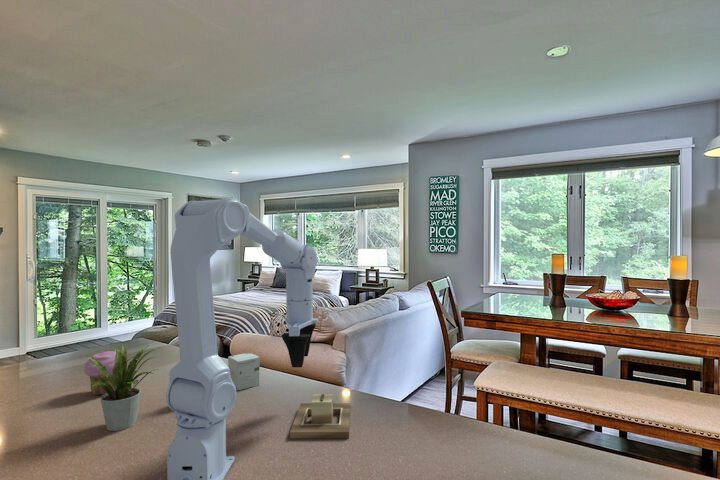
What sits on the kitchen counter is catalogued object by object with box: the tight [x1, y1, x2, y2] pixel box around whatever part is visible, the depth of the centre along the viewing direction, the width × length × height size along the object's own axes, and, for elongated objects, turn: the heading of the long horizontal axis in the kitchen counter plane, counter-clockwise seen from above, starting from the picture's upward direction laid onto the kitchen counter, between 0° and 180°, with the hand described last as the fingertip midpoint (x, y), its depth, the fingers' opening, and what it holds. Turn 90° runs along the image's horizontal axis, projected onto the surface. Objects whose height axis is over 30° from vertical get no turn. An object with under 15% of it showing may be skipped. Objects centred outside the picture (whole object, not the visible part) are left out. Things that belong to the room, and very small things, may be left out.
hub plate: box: [289, 402, 352, 439], centre depth 81 cm, size 13×11×1 cm
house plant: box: [84, 342, 163, 432], centre depth 81 cm, size 14×14×16 cm
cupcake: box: [83, 350, 116, 396], centre depth 99 cm, size 9×9×10 cm
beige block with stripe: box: [310, 393, 334, 424], centre depth 81 cm, size 4×4×5 cm
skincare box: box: [227, 352, 260, 391], centre depth 103 cm, size 6×6×7 cm
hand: (300, 361), depth 87 cm, fingers open, 7 cm apart
